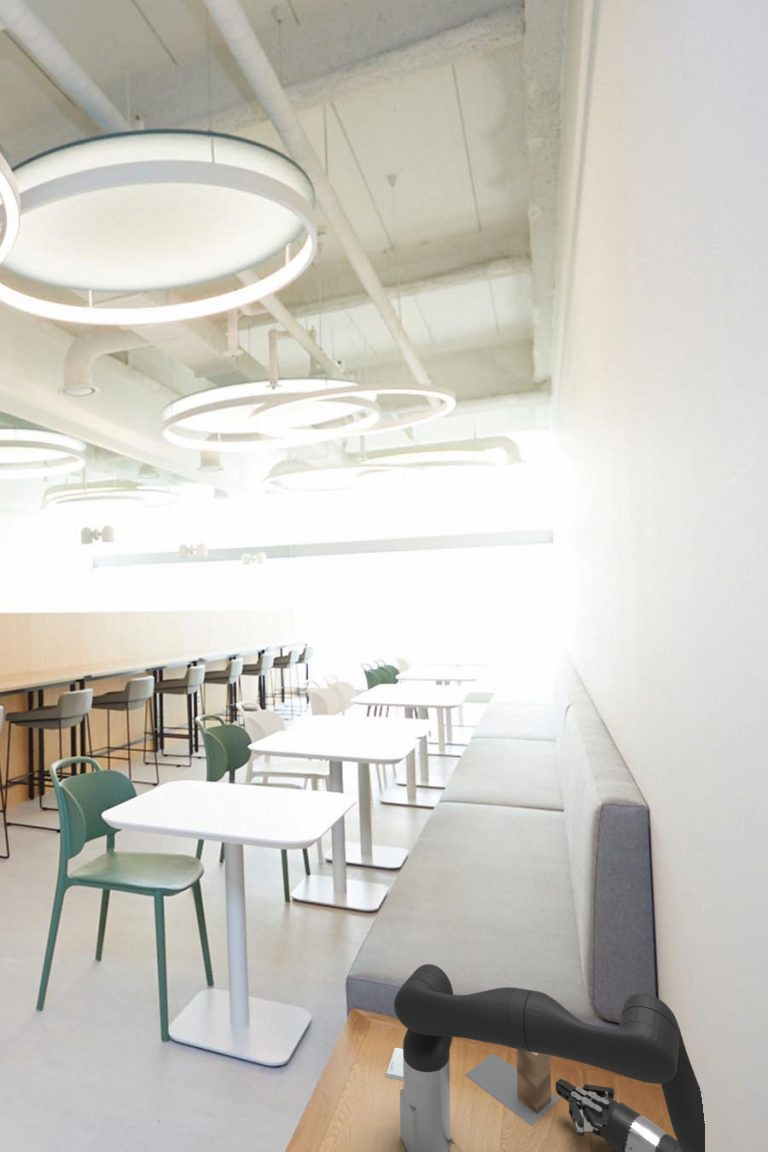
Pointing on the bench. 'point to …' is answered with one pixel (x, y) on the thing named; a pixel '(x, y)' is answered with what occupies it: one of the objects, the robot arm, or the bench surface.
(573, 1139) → the bench surface
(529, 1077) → the light brown wooden block
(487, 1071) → the rubber mat
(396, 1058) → the hard drive
